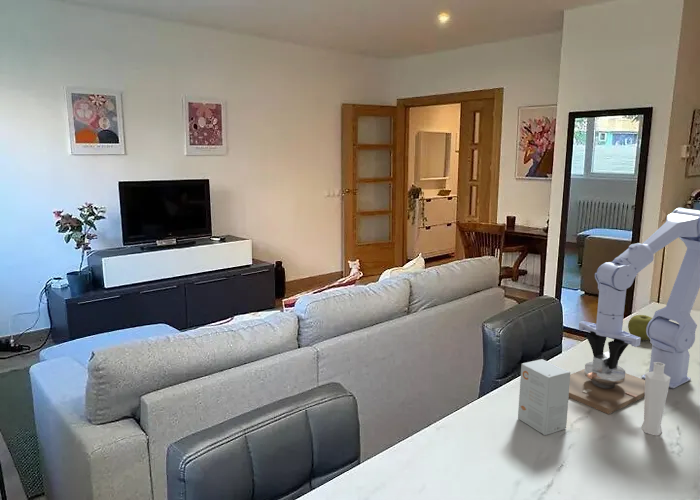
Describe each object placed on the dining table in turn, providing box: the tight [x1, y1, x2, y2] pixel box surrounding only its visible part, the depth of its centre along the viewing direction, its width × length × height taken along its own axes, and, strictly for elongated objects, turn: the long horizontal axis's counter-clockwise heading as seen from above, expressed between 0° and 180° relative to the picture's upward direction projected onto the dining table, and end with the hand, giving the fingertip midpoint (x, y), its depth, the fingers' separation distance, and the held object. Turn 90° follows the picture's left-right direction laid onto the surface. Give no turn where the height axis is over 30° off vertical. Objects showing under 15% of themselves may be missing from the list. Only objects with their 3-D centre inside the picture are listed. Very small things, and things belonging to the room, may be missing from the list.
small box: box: [517, 358, 571, 436], centre depth 114 cm, size 8×6×13 cm
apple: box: [627, 314, 653, 341], centre depth 165 cm, size 8×8×7 cm
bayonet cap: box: [584, 350, 626, 384], centre depth 130 cm, size 11×9×6 cm
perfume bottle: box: [640, 362, 671, 436], centre depth 111 cm, size 5×4×15 cm
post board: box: [569, 368, 645, 415], centre depth 131 cm, size 22×16×3 cm
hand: (605, 365), depth 130 cm, fingers open, 3 cm apart
